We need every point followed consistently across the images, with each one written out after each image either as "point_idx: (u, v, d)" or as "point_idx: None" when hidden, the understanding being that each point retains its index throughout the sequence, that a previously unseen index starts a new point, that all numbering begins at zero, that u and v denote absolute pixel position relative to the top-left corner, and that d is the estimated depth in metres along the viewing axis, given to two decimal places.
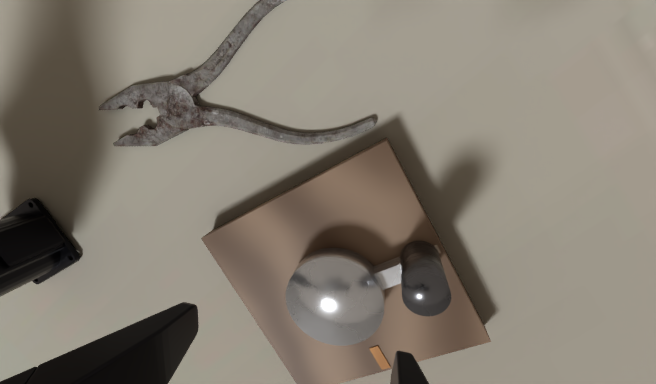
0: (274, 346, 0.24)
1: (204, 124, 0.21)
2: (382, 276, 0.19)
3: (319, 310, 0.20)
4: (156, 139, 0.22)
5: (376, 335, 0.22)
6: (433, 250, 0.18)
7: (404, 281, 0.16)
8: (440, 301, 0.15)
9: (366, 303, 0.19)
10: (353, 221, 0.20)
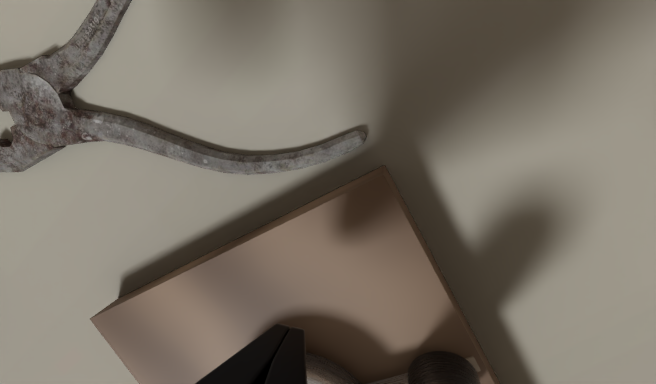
0: None
1: (83, 139, 0.13)
2: None
3: None
4: (16, 162, 0.14)
5: None
6: (470, 379, 0.10)
7: None
8: None
9: None
10: (326, 309, 0.11)
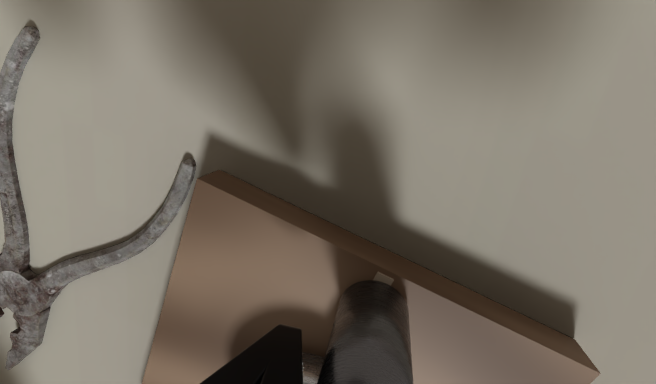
0: None
1: (51, 294, 0.16)
2: None
3: None
4: (30, 339, 0.17)
5: None
6: (370, 294, 0.10)
7: None
8: None
9: None
10: (252, 309, 0.12)
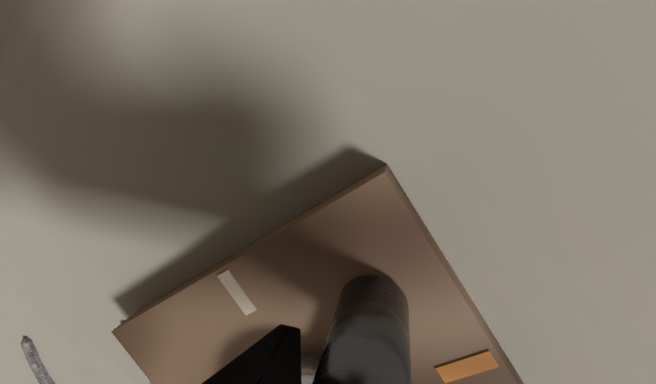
0: None
1: None
2: None
3: None
4: None
5: (412, 368, 0.11)
6: (366, 288, 0.10)
7: None
8: None
9: None
10: None
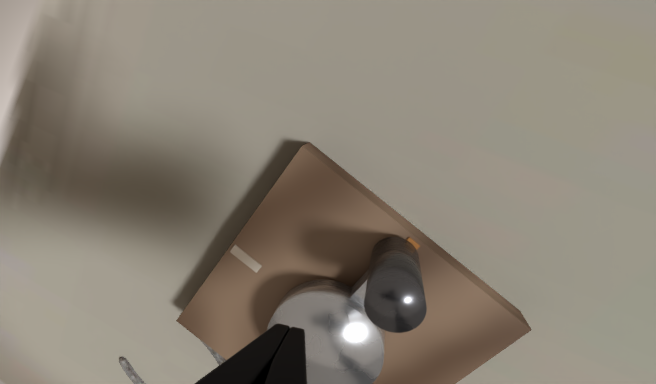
0: (460, 376, 0.17)
1: None
2: (360, 296, 0.16)
3: (312, 361, 0.17)
4: None
5: None
6: (399, 244, 0.15)
7: (365, 298, 0.13)
8: (414, 307, 0.12)
9: (356, 334, 0.16)
10: (252, 327, 0.19)
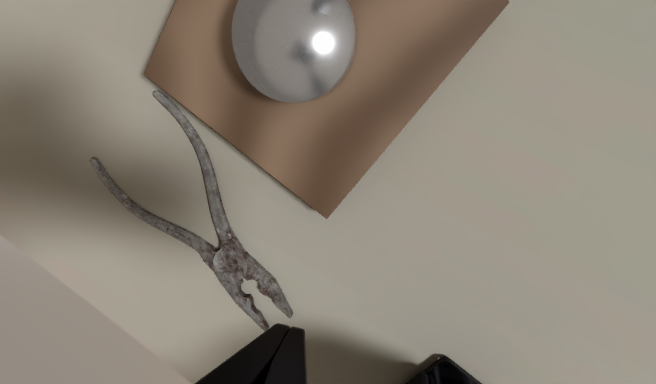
0: (436, 83, 0.16)
1: (231, 238, 0.23)
2: None
3: (280, 57, 0.16)
4: (266, 278, 0.24)
5: None
6: None
7: None
8: None
9: (324, 7, 0.15)
10: (221, 65, 0.18)
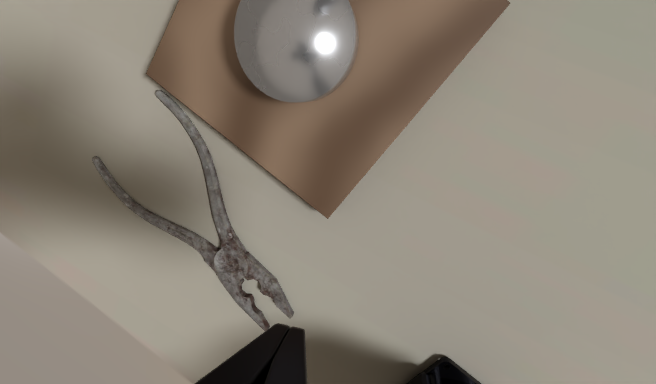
0: (437, 83, 0.17)
1: (232, 237, 0.23)
2: None
3: (282, 57, 0.16)
4: (266, 278, 0.24)
5: None
6: None
7: None
8: None
9: (326, 7, 0.15)
10: (224, 65, 0.19)
